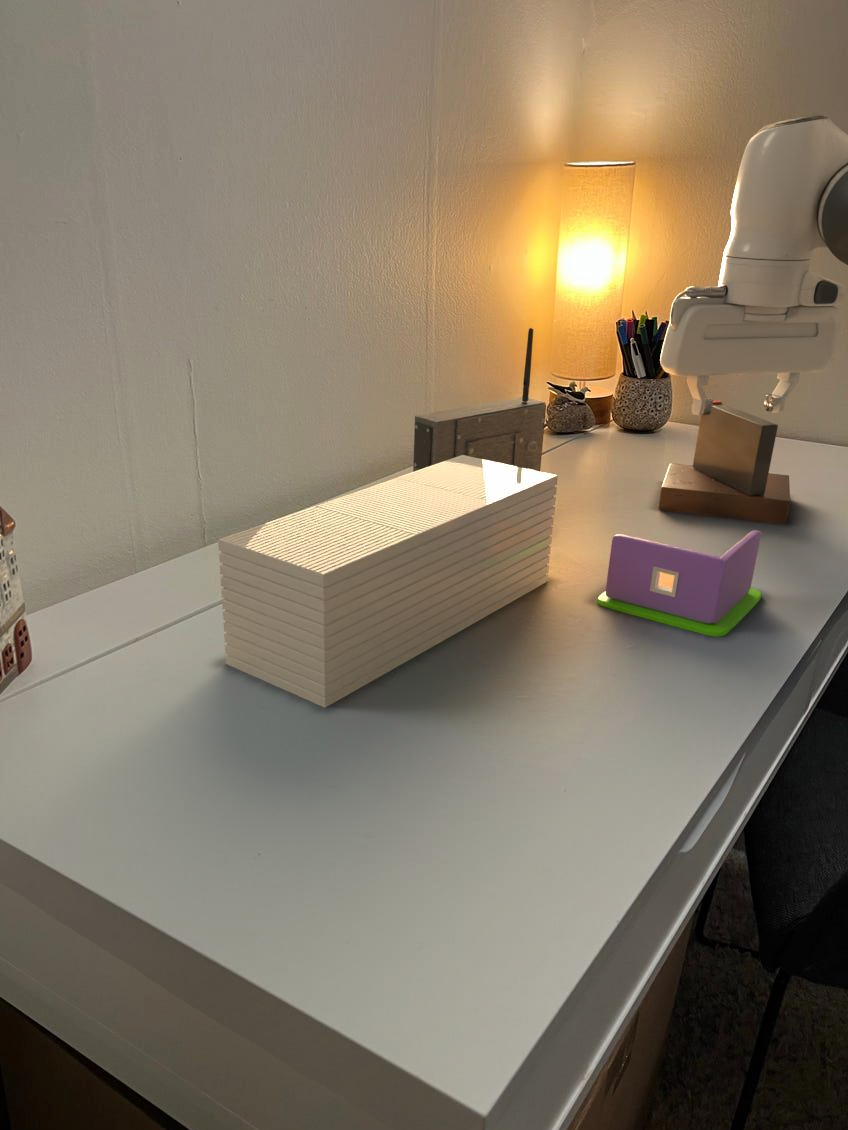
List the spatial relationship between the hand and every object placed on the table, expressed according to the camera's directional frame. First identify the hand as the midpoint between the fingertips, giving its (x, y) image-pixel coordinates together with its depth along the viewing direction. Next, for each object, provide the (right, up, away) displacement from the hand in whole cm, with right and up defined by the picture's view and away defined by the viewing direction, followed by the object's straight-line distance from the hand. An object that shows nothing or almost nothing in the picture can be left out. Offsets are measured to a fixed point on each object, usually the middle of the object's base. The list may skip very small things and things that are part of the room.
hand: (737, 412), depth 110 cm
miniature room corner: (-14, -23, -21) cm, 34 cm away
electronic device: (-29, -11, +3) cm, 31 cm away
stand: (0, -10, +5) cm, 11 cm away
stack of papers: (-40, -25, -26) cm, 53 cm away
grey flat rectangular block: (0, -7, +3) cm, 8 cm away
